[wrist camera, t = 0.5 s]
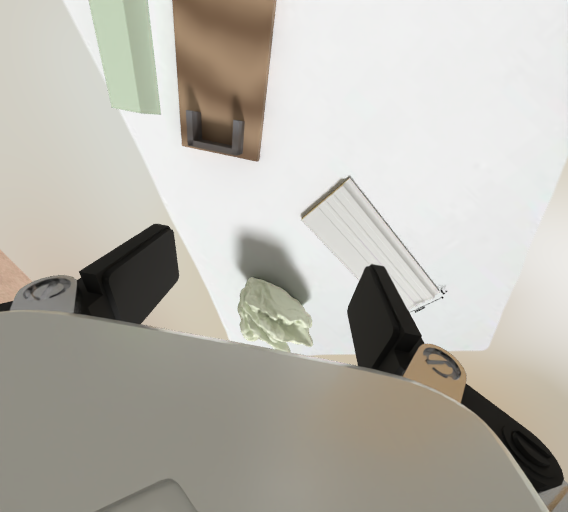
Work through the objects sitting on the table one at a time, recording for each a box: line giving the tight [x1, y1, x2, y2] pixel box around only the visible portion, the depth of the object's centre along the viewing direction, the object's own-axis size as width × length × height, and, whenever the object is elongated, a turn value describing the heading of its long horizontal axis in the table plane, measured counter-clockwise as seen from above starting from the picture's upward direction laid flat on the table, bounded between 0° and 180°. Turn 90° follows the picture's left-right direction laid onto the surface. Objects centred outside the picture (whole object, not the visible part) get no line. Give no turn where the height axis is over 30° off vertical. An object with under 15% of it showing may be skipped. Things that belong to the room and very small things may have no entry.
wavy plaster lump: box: [238, 277, 313, 352], centre depth 45 cm, size 18×13×16 cm
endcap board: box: [172, 0, 276, 161], centre depth 25 cm, size 31×12×4 cm, turn 170°
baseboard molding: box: [301, 178, 447, 313], centre depth 41 cm, size 31×3×12 cm
